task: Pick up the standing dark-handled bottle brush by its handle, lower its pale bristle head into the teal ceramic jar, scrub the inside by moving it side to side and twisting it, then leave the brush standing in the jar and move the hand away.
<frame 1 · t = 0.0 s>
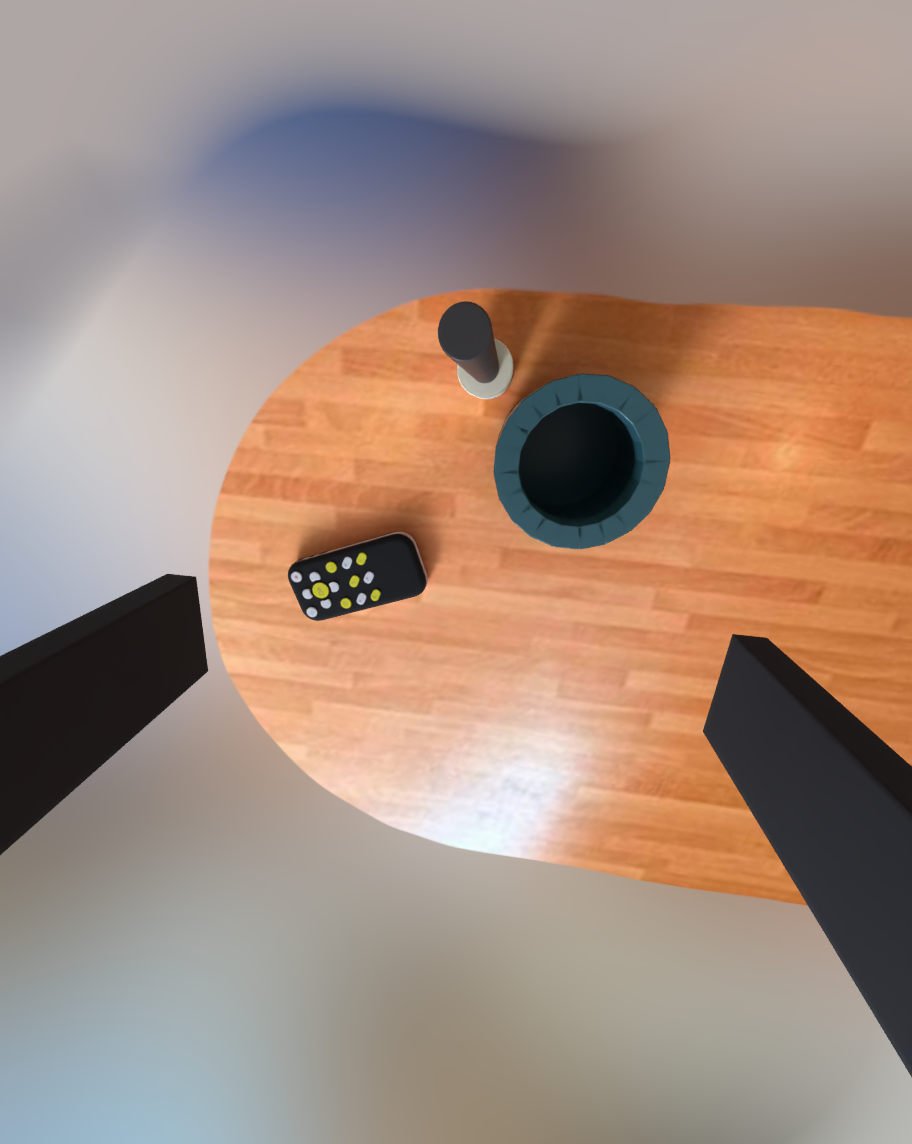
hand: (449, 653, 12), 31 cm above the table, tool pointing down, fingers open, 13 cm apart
remote control: (361, 573, 45), on the table
jar: (558, 449, 39), on the table
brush: (487, 373, 38), on the table
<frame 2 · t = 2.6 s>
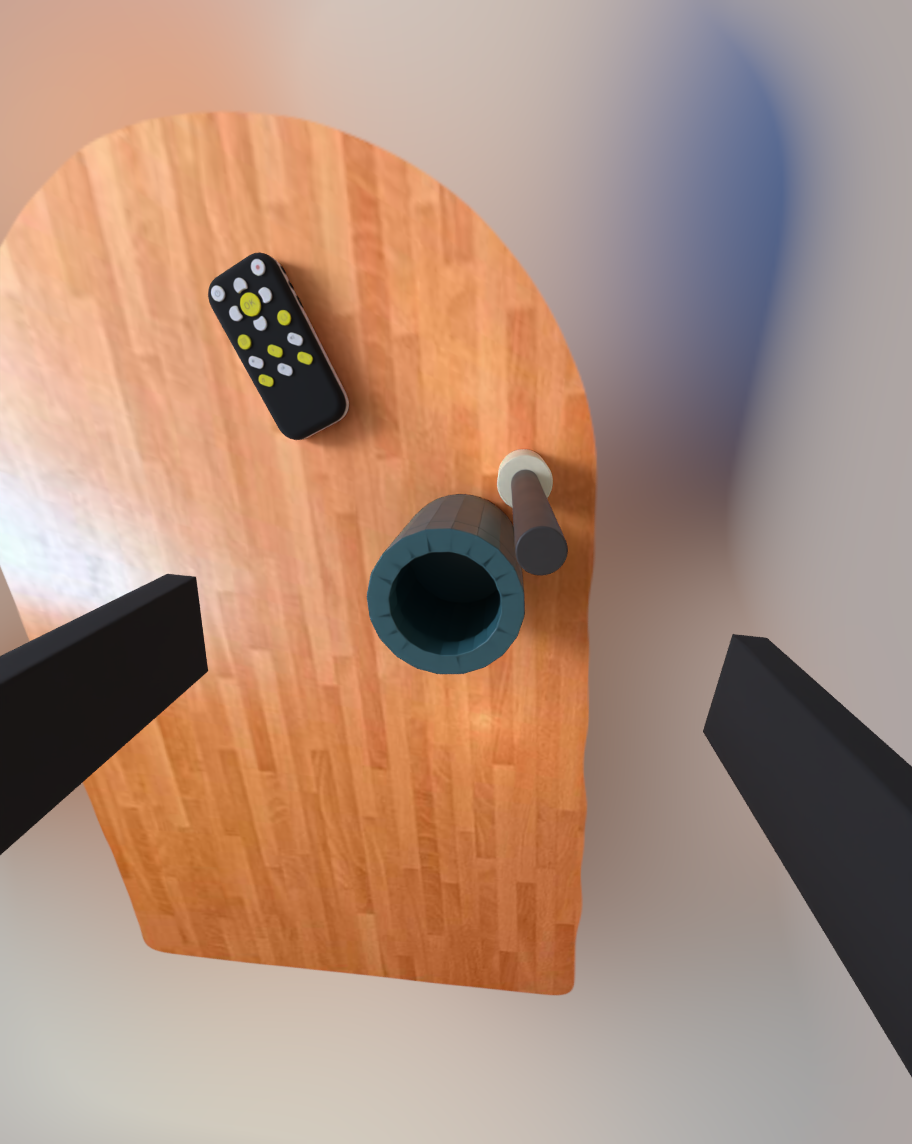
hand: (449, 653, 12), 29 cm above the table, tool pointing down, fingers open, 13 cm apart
remote control: (287, 353, 37), on the table
jar: (461, 551, 41), on the table
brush: (522, 473, 39), on the table
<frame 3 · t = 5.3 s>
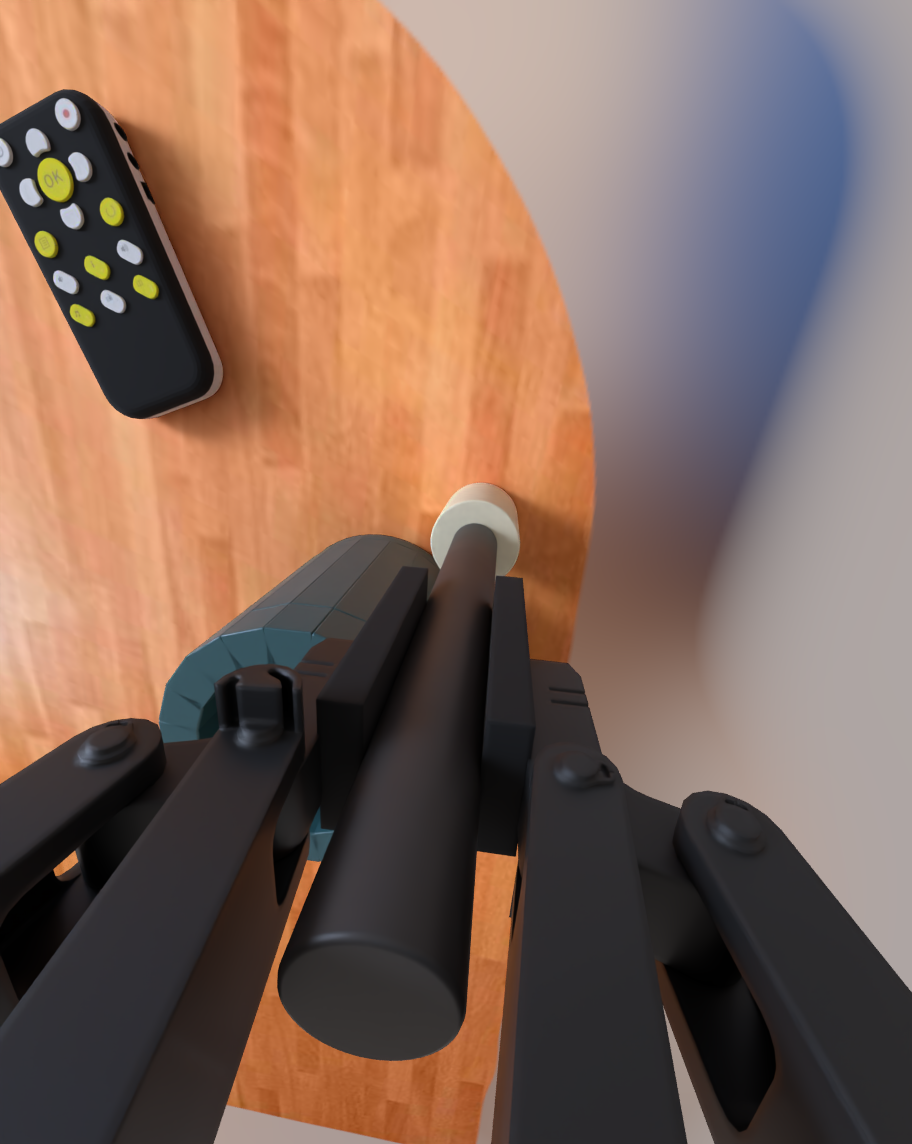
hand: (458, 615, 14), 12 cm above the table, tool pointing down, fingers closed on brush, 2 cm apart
remote control: (131, 279, 23), on the table
jar: (379, 616, 28), on the table
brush: (480, 519, 25), on the table, touching gripper
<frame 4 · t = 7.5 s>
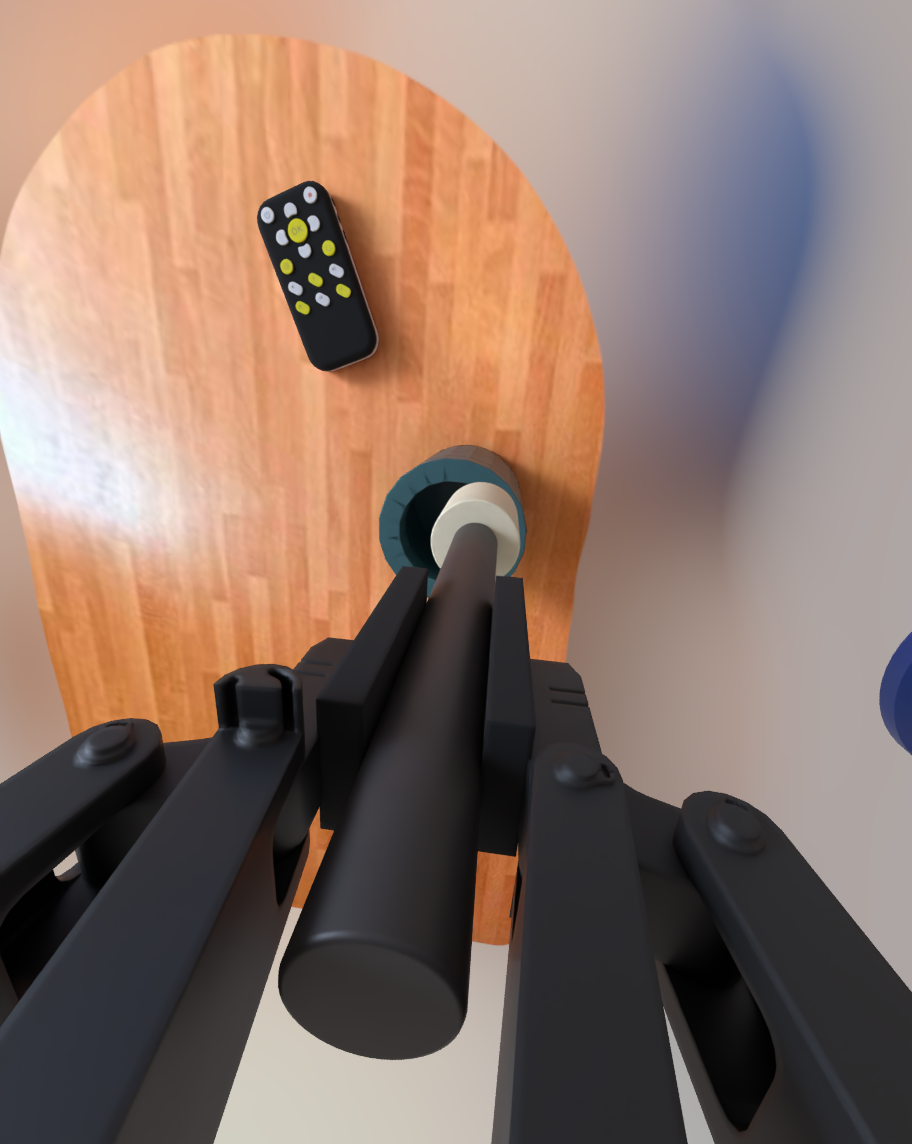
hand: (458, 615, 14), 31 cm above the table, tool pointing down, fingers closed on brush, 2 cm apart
remote control: (325, 286, 39), on the table
jar: (465, 501, 43), on the table
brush: (480, 518, 25), point 18 cm above the table, touching gripper
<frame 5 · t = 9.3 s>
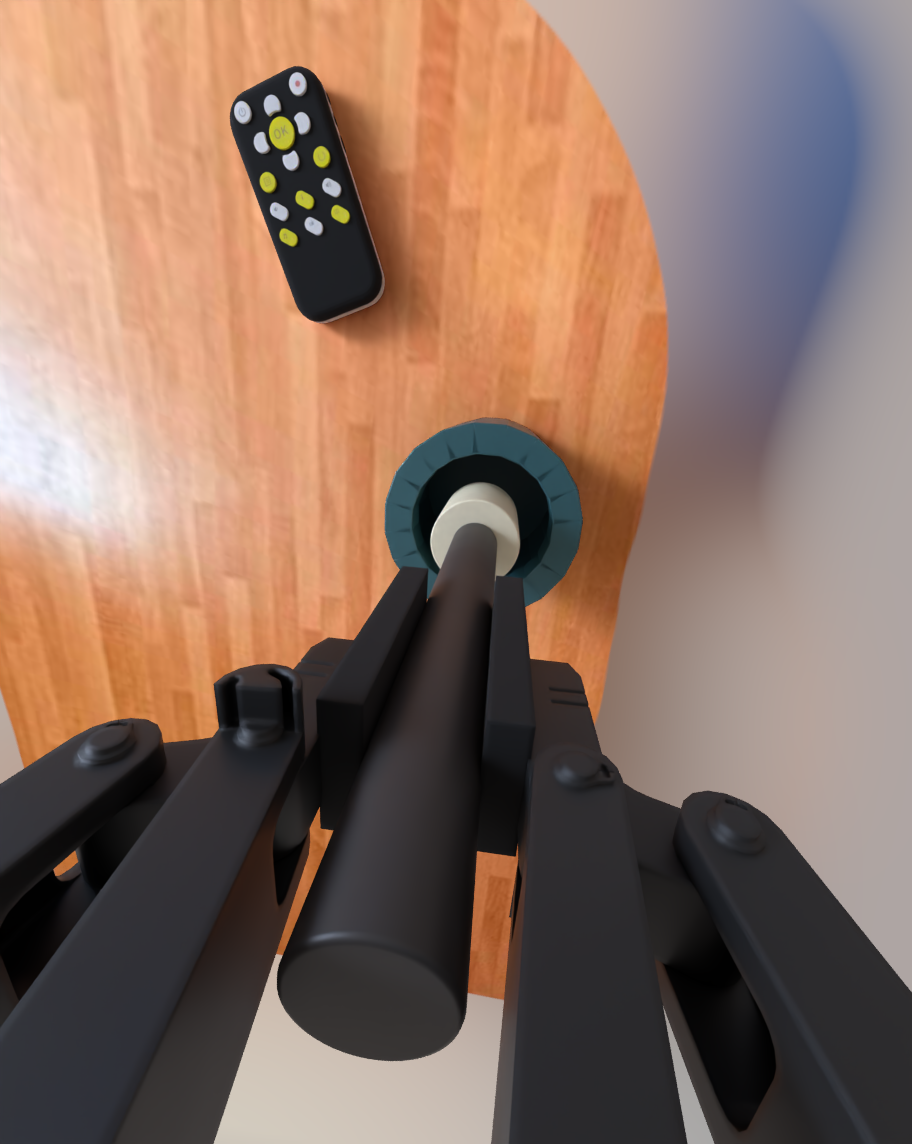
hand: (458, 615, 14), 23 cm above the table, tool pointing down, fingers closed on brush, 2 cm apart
remote control: (318, 213, 31), on the table
jar: (489, 488, 35), on the table
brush: (480, 518, 25), point 11 cm above the table, touching gripper
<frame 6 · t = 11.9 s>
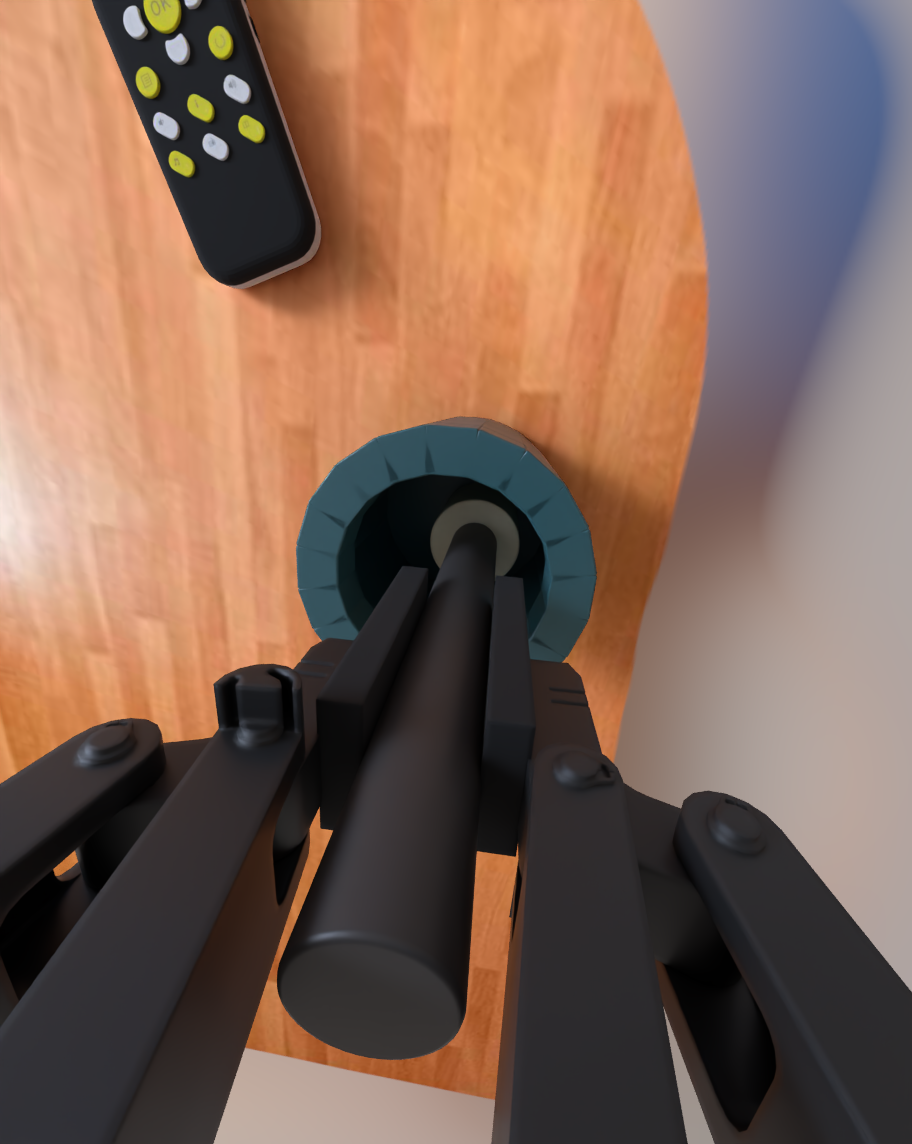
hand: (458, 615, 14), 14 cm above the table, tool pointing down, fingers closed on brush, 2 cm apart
remote control: (227, 134, 22), on the table
jar: (467, 509, 27), on the table
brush: (480, 518, 25), point 2 cm above the table, touching gripper
when the fingers open (13 cm above the table, at t = 13.6 s): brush stays where it is, resting on jar.
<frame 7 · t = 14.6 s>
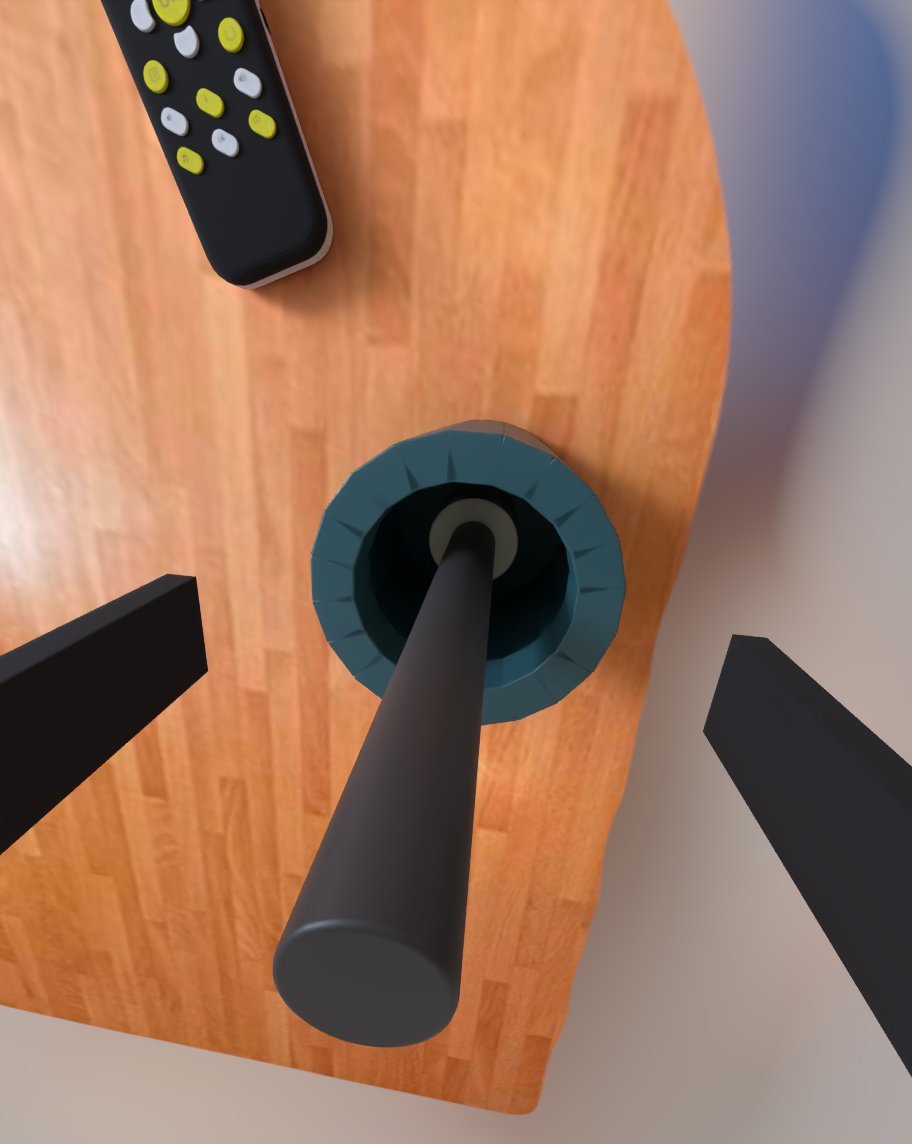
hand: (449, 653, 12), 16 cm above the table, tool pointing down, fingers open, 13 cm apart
remote control: (237, 130, 22), on the table
jar: (481, 514, 26), on the table
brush: (479, 517, 25), point 1 cm above the table, touching jar
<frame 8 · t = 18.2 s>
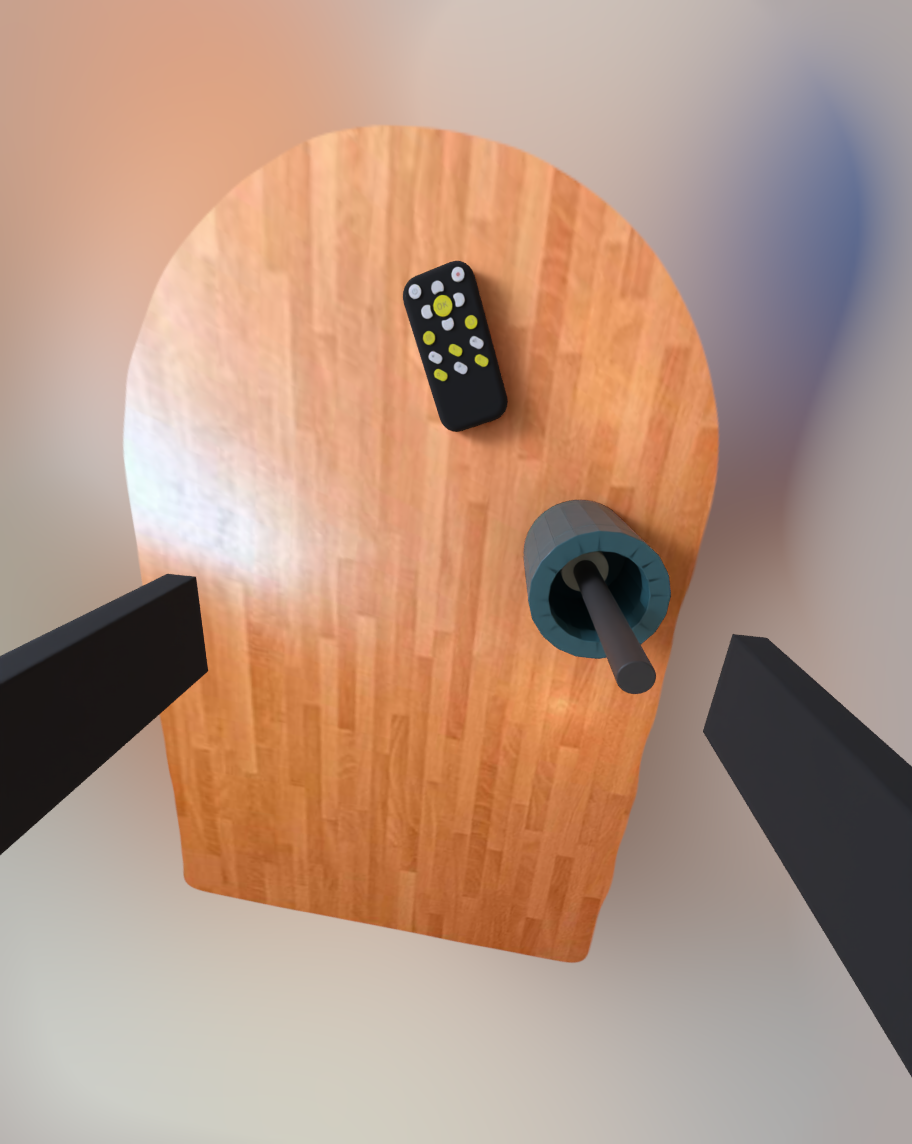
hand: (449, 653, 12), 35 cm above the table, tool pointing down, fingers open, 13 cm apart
remote control: (458, 352, 41), on the table
jar: (575, 551, 46), on the table
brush: (576, 553, 45), point 1 cm above the table, touching jar
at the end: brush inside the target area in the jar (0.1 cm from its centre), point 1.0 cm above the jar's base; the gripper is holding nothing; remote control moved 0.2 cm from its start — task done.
